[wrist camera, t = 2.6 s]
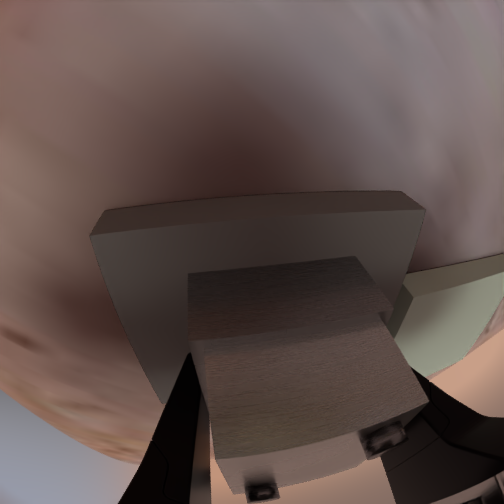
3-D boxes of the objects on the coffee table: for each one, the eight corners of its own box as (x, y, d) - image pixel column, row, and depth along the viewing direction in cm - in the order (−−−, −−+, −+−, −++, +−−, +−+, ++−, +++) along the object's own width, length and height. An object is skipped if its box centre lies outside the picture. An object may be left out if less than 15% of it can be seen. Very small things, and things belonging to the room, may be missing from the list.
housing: (355, 255, 9) (455, 407, 4) (323, 367, 12) (365, 476, 7) (187, 273, 8) (197, 482, 3) (210, 384, 11) (227, 508, 7)
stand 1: (401, 191, 9) (426, 209, 8) (352, 350, 14) (362, 372, 13) (104, 211, 8) (89, 235, 7) (162, 377, 13) (161, 403, 12)
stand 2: (504, 253, 13) (518, 266, 12) (453, 346, 18) (462, 359, 17) (396, 275, 12) (413, 297, 10) (350, 383, 17) (358, 401, 15)
